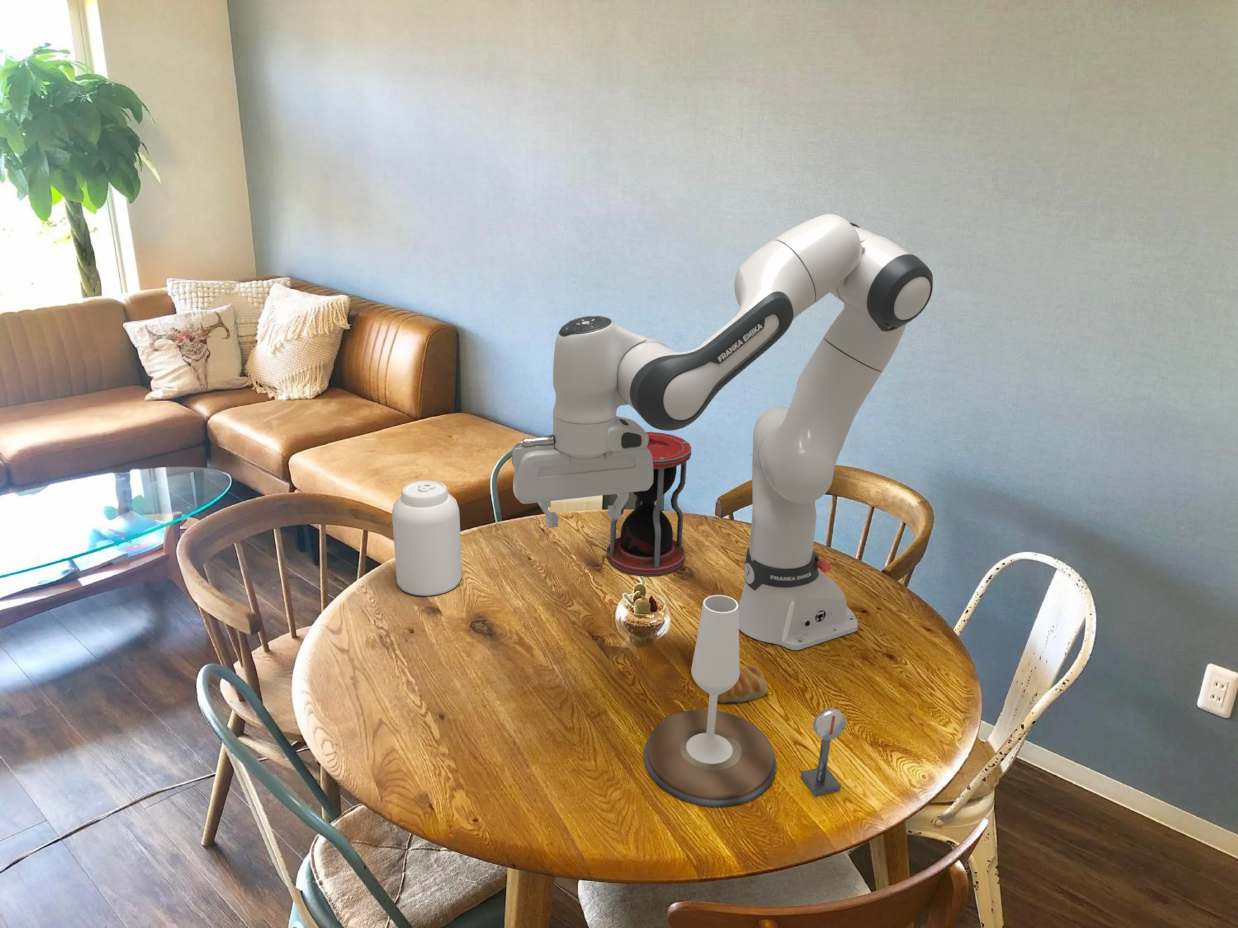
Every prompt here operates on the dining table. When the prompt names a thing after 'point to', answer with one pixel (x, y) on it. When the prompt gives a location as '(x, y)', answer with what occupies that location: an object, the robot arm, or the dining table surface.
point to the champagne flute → (715, 671)
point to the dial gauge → (824, 752)
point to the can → (427, 539)
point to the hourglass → (653, 515)
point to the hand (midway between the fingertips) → (583, 522)
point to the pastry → (746, 686)
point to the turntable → (710, 782)
